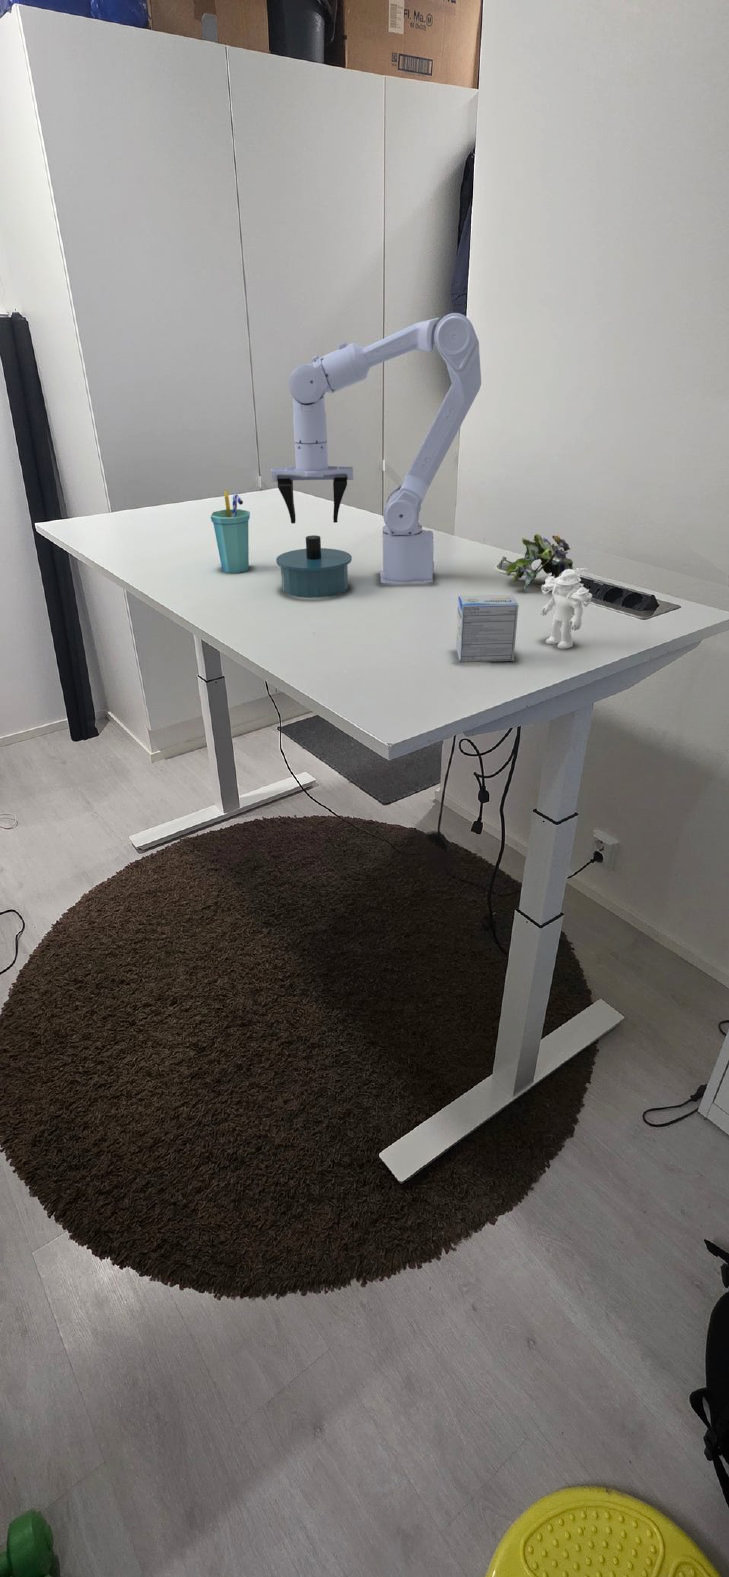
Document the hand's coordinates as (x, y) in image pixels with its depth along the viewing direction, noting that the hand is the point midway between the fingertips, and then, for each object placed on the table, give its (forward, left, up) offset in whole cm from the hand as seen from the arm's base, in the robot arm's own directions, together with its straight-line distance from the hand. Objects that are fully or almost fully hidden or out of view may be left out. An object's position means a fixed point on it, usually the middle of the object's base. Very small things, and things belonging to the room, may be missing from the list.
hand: (314, 521), depth 148 cm
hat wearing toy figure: (-38, +37, -11) cm, 54 cm away
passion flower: (-40, +9, -11) cm, 42 cm away
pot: (0, +8, -10) cm, 13 cm away
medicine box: (-26, +42, -11) cm, 50 cm away
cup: (+16, -6, -11) cm, 20 cm away
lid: (0, +8, -5) cm, 9 cm away
